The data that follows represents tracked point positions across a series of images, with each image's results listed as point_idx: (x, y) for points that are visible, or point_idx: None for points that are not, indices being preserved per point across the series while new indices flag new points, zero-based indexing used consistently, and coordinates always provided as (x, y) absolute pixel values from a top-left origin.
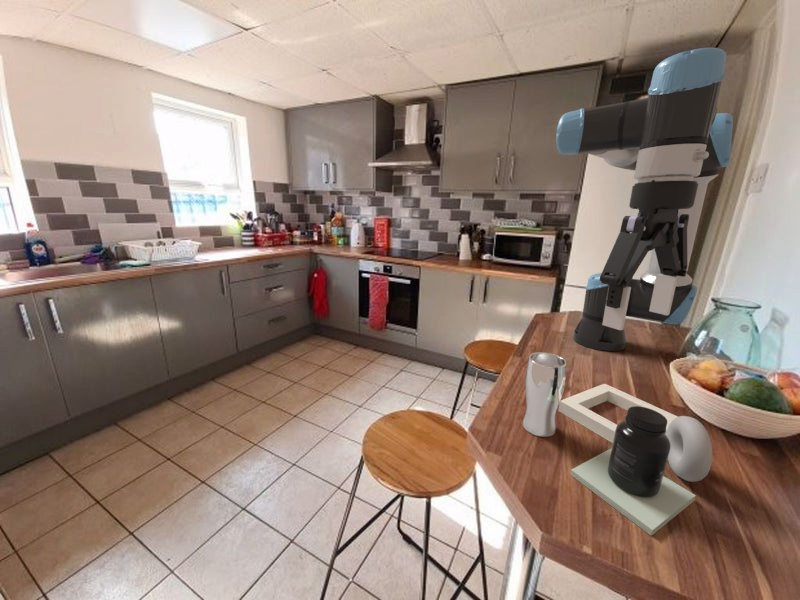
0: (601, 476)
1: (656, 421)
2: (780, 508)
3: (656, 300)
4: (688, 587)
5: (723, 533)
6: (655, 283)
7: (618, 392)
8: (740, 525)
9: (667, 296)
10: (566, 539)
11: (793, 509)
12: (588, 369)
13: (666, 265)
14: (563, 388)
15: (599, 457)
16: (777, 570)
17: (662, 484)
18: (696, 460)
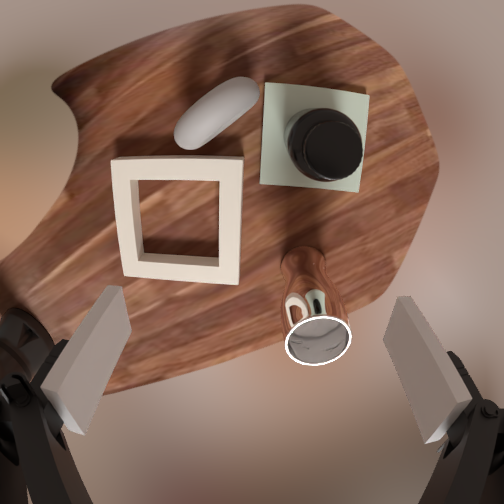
0: None
1: (343, 133)
2: (184, 33)
3: (113, 347)
4: (392, 59)
5: (291, 50)
6: (97, 405)
7: (128, 251)
8: (260, 43)
9: (96, 339)
10: (435, 149)
11: (173, 27)
12: None
13: (66, 460)
14: (306, 286)
15: (303, 183)
16: (296, 12)
17: (282, 112)
18: (257, 88)
